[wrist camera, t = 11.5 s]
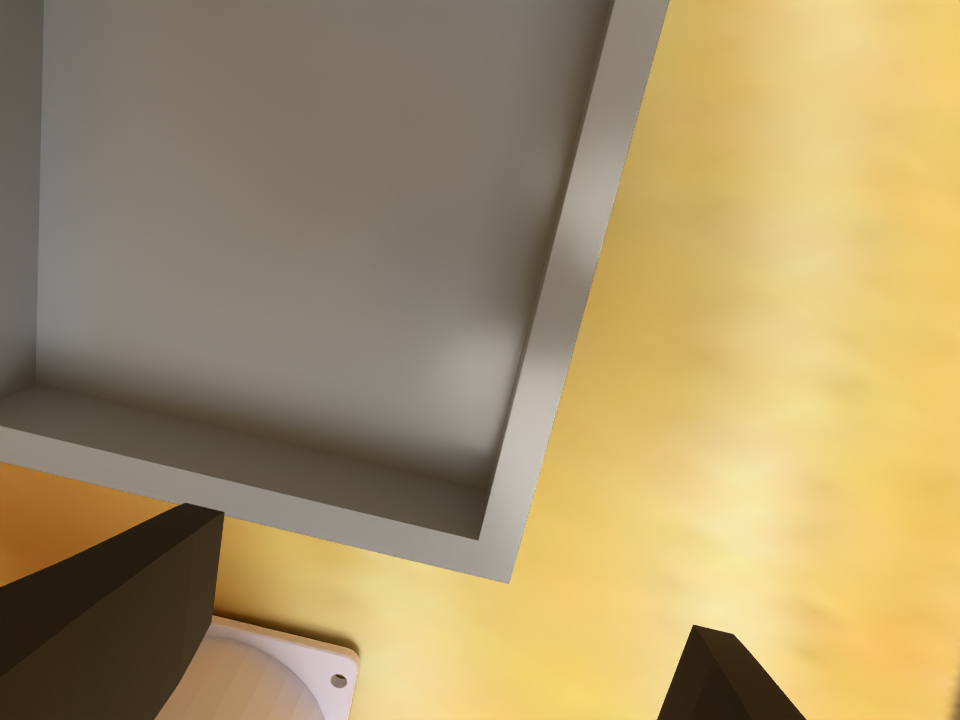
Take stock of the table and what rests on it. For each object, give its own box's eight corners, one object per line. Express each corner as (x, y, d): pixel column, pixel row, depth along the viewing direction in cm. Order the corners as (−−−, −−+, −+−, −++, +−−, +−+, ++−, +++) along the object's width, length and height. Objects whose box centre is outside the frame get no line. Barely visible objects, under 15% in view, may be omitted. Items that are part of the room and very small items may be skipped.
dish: (514, 521, 21) (509, 583, 18) (10, 401, 21) (-73, 444, 18) (668, -55, 16) (695, -93, 13) (16, -204, 16) (-95, -273, 14)
